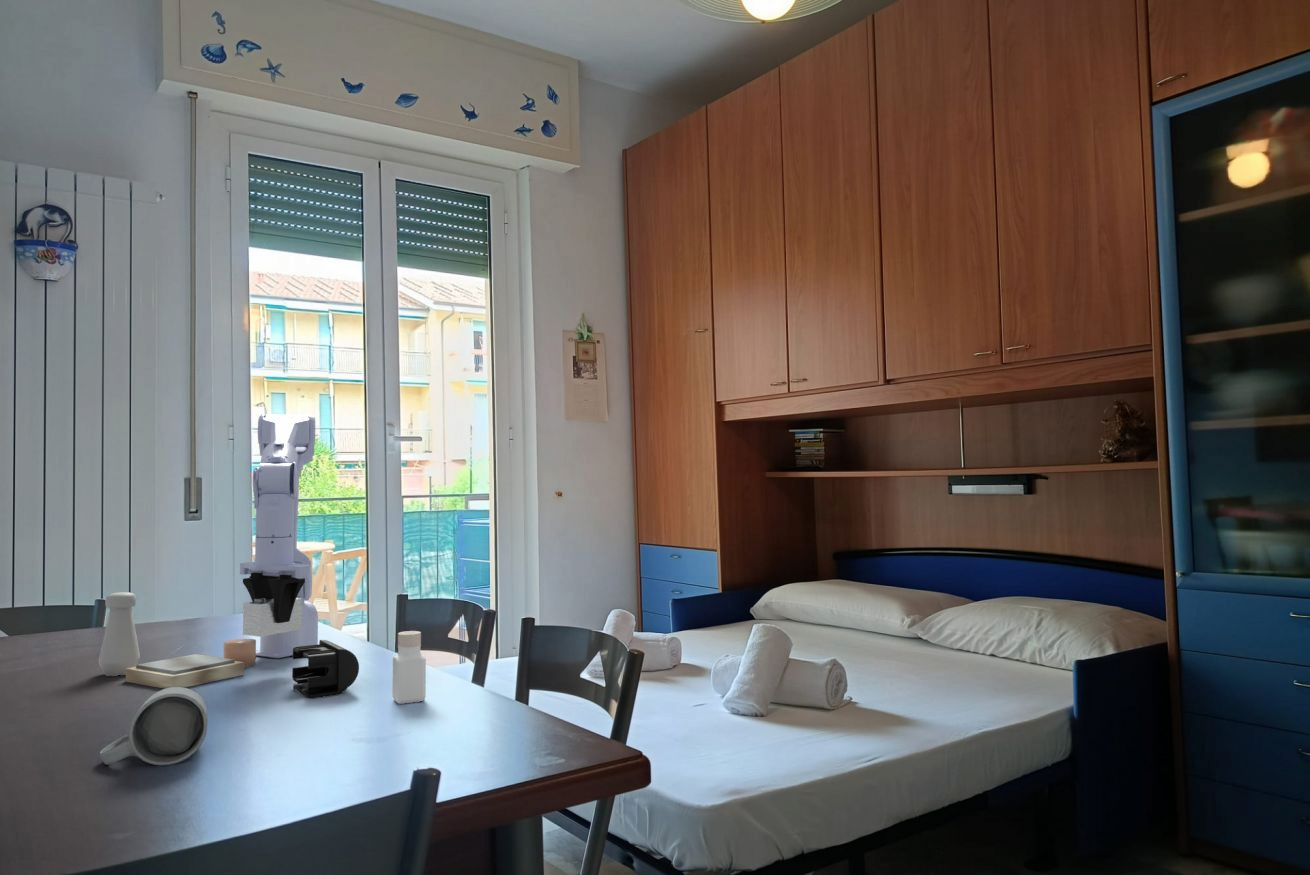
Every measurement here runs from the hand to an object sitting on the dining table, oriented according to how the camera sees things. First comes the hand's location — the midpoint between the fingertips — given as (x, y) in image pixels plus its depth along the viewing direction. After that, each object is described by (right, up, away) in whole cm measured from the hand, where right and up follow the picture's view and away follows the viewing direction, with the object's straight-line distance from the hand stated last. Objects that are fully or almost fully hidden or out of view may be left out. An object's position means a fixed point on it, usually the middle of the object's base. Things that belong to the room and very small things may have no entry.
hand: (273, 621), depth 146 cm
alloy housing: (0, -2, 0) cm, 2 cm away
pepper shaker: (+27, -8, -19) cm, 34 cm away
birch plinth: (-13, -8, -3) cm, 15 cm away
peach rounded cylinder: (-9, -9, +7) cm, 15 cm away
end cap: (+13, -8, -12) cm, 19 cm away
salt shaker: (-25, -9, +1) cm, 27 cm away
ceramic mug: (+6, -7, -45) cm, 45 cm away
